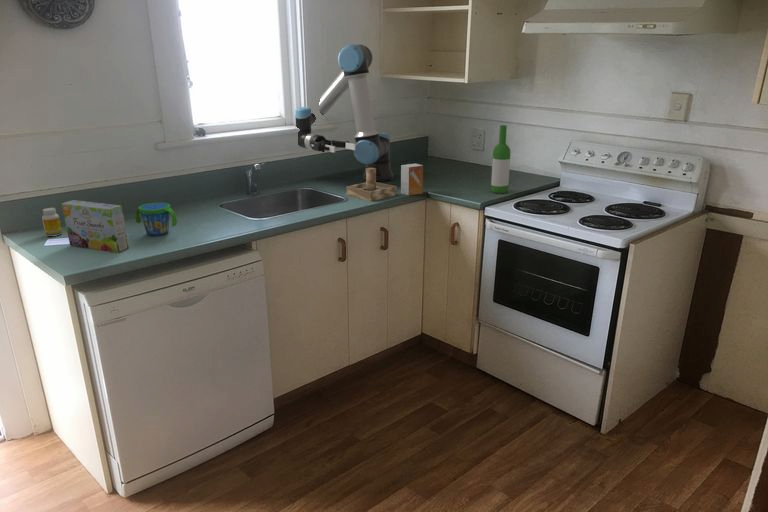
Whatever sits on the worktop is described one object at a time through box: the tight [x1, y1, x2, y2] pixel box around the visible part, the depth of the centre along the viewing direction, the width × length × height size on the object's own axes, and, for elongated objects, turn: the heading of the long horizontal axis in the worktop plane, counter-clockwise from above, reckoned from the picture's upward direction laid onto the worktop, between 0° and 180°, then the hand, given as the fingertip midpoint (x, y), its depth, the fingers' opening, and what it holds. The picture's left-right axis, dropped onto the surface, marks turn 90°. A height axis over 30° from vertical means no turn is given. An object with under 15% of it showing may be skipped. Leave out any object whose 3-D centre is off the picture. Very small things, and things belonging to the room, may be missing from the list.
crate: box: [345, 181, 397, 202], centre depth 266 cm, size 16×16×4 cm
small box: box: [400, 163, 424, 196], centre depth 267 cm, size 8×6×13 cm
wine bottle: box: [490, 124, 511, 194], centre depth 266 cm, size 8×8×30 cm
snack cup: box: [134, 202, 178, 236], centre depth 211 cm, size 16×11×10 cm
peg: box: [365, 167, 376, 191], centre depth 264 cm, size 4×4×12 cm
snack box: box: [61, 199, 130, 254], centre depth 195 cm, size 21×6×15 cm, turn 69°
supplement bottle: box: [41, 207, 63, 237], centre depth 210 cm, size 5×5×10 cm
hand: (345, 148), depth 270 cm, fingers open, 12 cm apart
